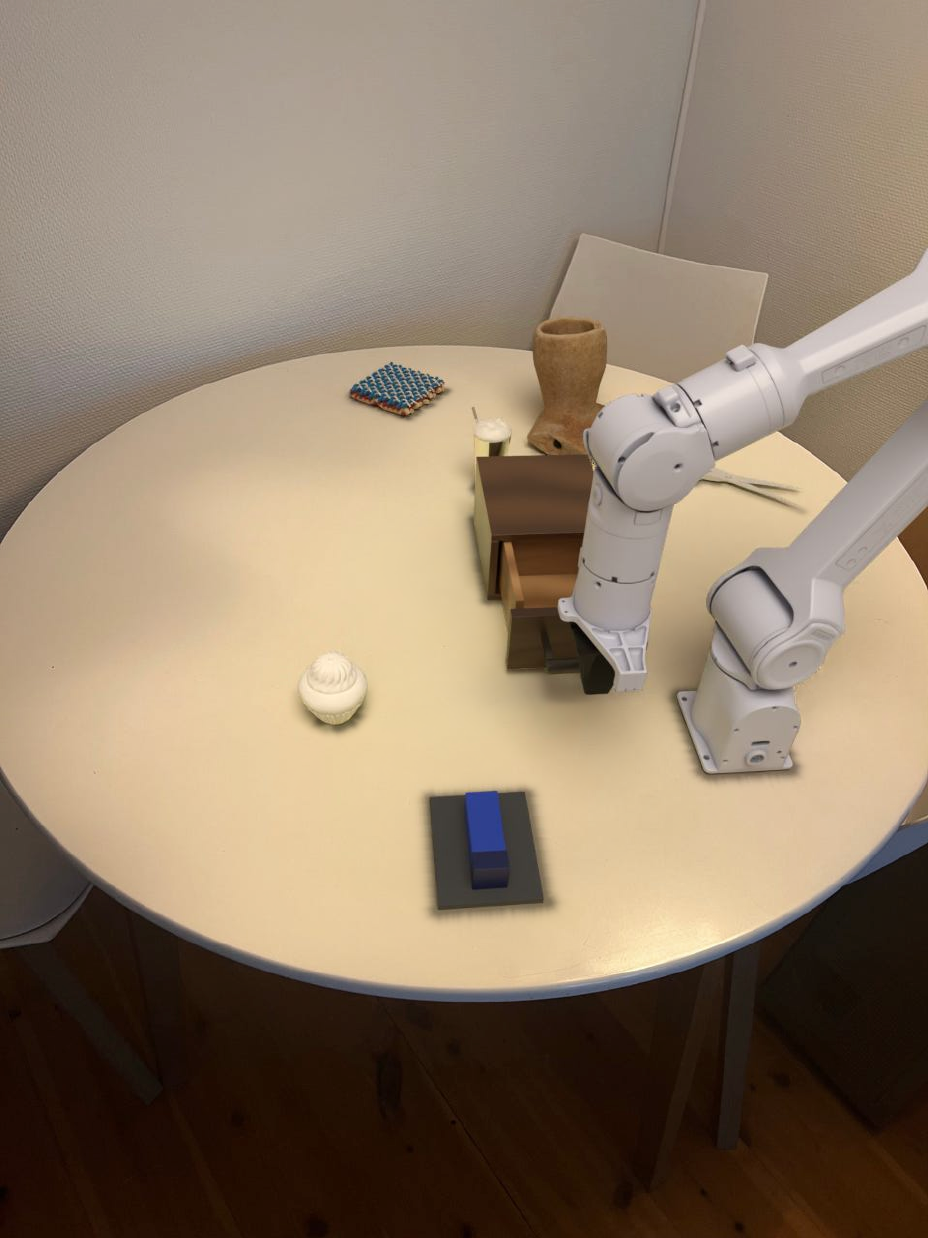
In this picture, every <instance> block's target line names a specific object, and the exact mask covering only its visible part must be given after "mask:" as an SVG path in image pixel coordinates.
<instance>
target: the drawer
mask: <svg viewBox="0 0 928 1238" xmlns="http://www.w3.org/2000/svg"><path fill="white" fill-rule="evenodd" d="M582 544H583V539H552V540H520V541H500V552H499V566H498V582H499V587H500V593H501V598H502V600H501V602H502V608H503V613H504V618H505V625H506V628H507V642H506V652H505V653H506V654H505V665H506V670H507V671H511V670H512V671H513V670H534V669H544V672H545V675H546V676H554V675H556V676H557V675H558V676H559V675H574V674H575V675H576V674H577V675H578V674H579V675H580V668H579V654H578V651H577V648H576V645H575V642H574V638H573V634H572V629H571V627H570V623H569V622H566V621H563V620H561V618H560V616H559V612H558V600H559V599H561V598H569V597H571V596H572V595H573V591H574V587H575V583H576V580H577V576H578V571H579V568H578V561H579V555H580V548H581V547H582Z"/></svg>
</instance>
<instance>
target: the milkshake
mask: <svg viewBox="0 0 928 1238" xmlns="http://www.w3.org/2000/svg"><path fill="white" fill-rule="evenodd" d="M475 408H476V407H475V406H472V407H471V411H472V415H473V419H474V422H475V425H474V426H473V429H472V433H473V435H472V436H473V453H474V476H476V457H486V456H509V450H510V445H511V440H512V434H513V431H512V430H513V429H512V427H511V425H510V424H509V423H508V422H507V421H506V420H504V419H502V417H497V418H496V417H495V418H493V417H492V418H491V417H489V418H485V419H482V420H480V421H479V418H478V415H477V412H476V409H475Z"/></svg>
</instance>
